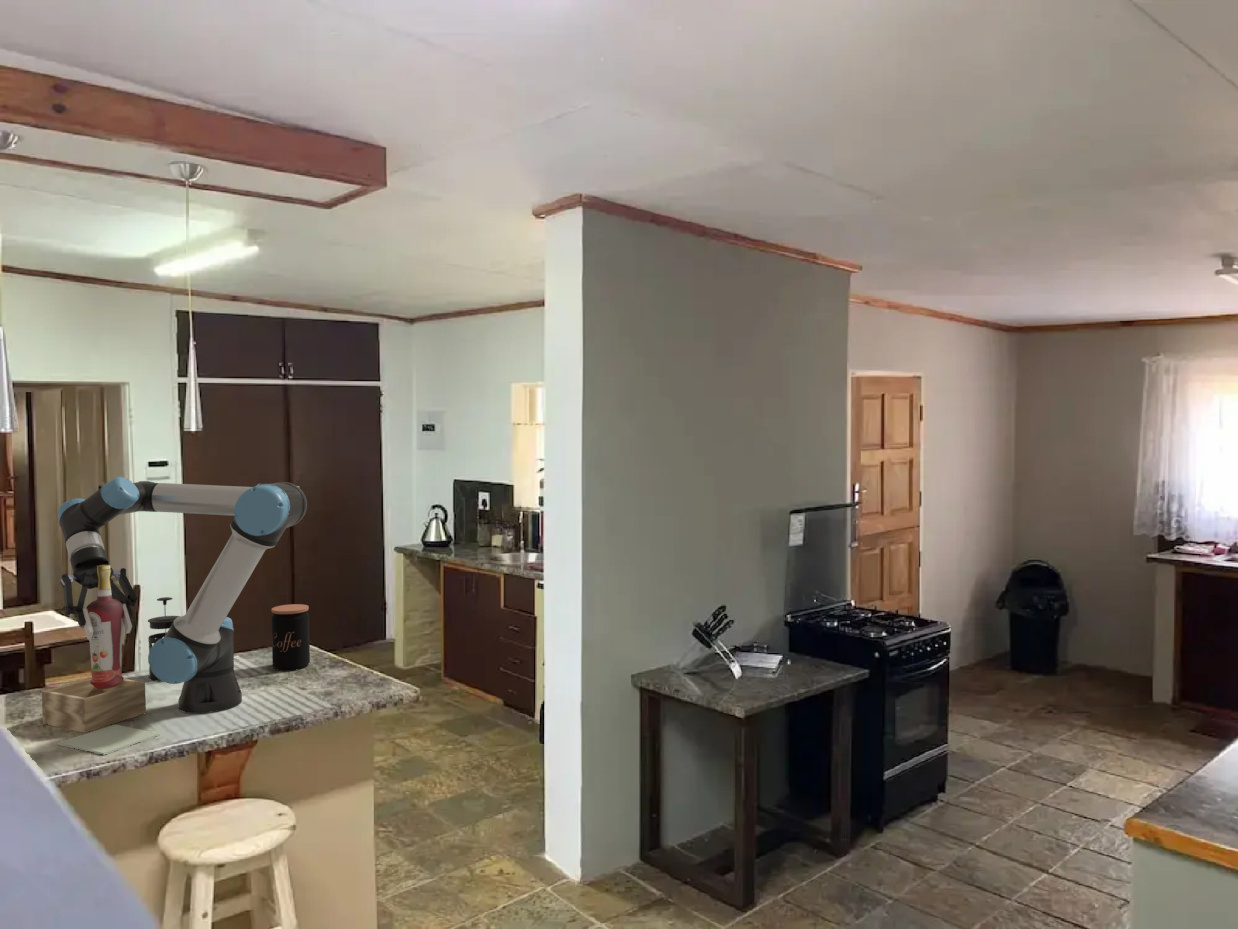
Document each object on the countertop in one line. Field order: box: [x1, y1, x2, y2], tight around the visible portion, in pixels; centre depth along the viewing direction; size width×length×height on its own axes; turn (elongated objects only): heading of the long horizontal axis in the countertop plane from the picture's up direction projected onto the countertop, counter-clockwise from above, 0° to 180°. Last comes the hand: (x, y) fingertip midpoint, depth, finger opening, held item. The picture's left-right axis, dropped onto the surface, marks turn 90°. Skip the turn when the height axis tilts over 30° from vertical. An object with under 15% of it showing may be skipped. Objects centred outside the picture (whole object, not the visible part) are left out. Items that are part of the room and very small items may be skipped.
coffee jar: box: [271, 603, 311, 671], centre depth 275 cm, size 11×11×18 cm
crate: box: [41, 677, 147, 734], centre depth 227 cm, size 16×16×8 cm
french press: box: [147, 596, 180, 681], centre depth 264 cm, size 12×9×23 cm
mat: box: [57, 723, 161, 756], centre depth 211 cm, size 16×14×1 cm
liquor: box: [86, 564, 125, 689], centre depth 210 cm, size 7×7×28 cm
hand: (110, 632), depth 208 cm, fingers closed on liquor, 7 cm apart
